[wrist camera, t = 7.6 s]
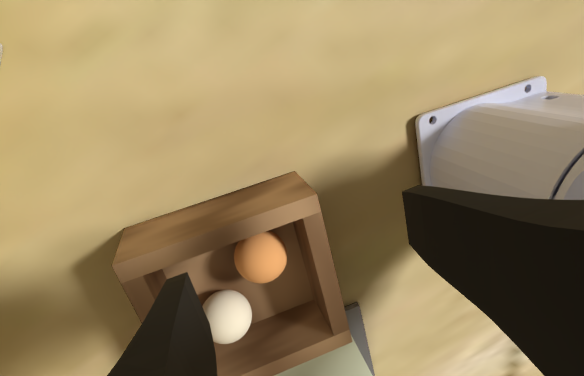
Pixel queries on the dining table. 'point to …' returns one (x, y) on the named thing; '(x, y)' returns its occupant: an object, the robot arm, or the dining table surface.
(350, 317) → the mat
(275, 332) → the box
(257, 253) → the ball
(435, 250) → the robot arm
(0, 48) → the supplement box
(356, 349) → the lid
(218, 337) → the ball
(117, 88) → the dining table surface
